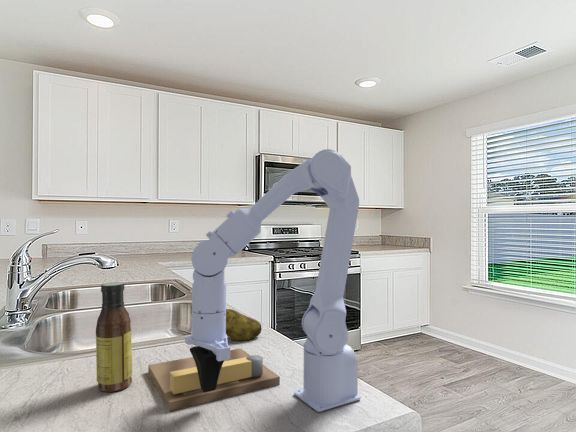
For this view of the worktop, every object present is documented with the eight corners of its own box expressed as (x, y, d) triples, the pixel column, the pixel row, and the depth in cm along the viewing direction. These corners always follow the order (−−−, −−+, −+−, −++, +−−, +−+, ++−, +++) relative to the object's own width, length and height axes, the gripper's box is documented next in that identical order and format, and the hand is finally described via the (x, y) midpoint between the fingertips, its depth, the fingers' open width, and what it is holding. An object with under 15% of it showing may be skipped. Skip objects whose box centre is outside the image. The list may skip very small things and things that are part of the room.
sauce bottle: (122, 377, 77) (123, 279, 77) (138, 385, 73) (139, 282, 73) (89, 387, 72) (90, 283, 72) (104, 397, 68) (105, 286, 68)
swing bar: (258, 369, 76) (258, 354, 76) (265, 374, 74) (265, 359, 74) (169, 388, 67) (169, 371, 68) (173, 395, 65) (174, 377, 65)
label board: (240, 354, 90) (240, 347, 90) (279, 384, 74) (279, 376, 74) (148, 372, 79) (148, 364, 79) (169, 411, 63) (169, 401, 63)
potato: (256, 344, 97) (256, 313, 98) (208, 342, 99) (208, 311, 99) (263, 335, 106) (263, 306, 106) (218, 333, 107) (219, 305, 108)
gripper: (174, 304, 69) (174, 379, 69) (199, 322, 56) (198, 414, 56) (212, 300, 73) (211, 371, 72) (242, 317, 60) (242, 403, 60)
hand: (208, 389), depth 65 cm, fingers closed
